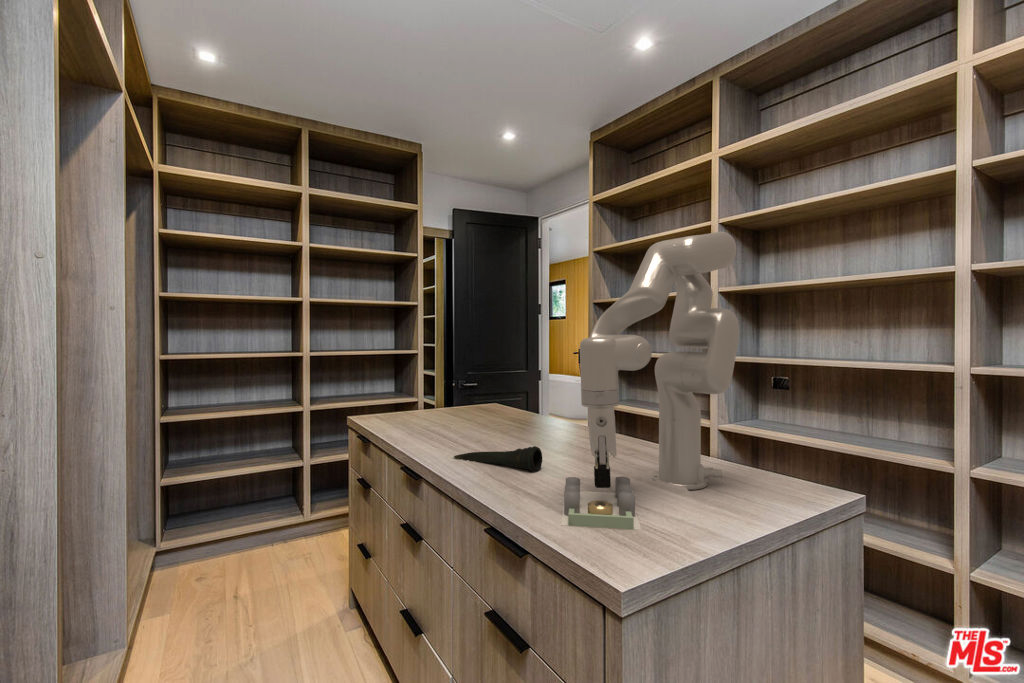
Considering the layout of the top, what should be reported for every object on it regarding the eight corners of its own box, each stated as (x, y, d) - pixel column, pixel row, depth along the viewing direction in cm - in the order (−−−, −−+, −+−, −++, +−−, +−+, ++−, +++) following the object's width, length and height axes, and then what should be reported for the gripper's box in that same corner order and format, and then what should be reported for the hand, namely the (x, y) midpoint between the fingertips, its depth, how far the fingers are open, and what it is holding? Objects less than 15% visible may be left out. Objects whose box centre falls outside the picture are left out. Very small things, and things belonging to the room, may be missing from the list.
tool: (545, 470, 128) (545, 445, 128) (531, 475, 123) (532, 449, 123) (467, 455, 144) (467, 433, 144) (452, 459, 139) (452, 436, 139)
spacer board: (629, 498, 104) (630, 474, 104) (641, 536, 84) (641, 507, 84) (565, 495, 106) (565, 472, 106) (561, 531, 86) (561, 502, 86)
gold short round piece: (612, 514, 91) (612, 500, 91) (613, 524, 87) (613, 509, 87) (587, 513, 92) (587, 499, 92) (587, 522, 87) (587, 507, 87)
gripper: (621, 403, 90) (624, 500, 90) (615, 392, 105) (618, 475, 105) (581, 404, 91) (584, 499, 92) (581, 392, 106) (583, 474, 106)
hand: (602, 486), depth 98 cm, fingers closed
